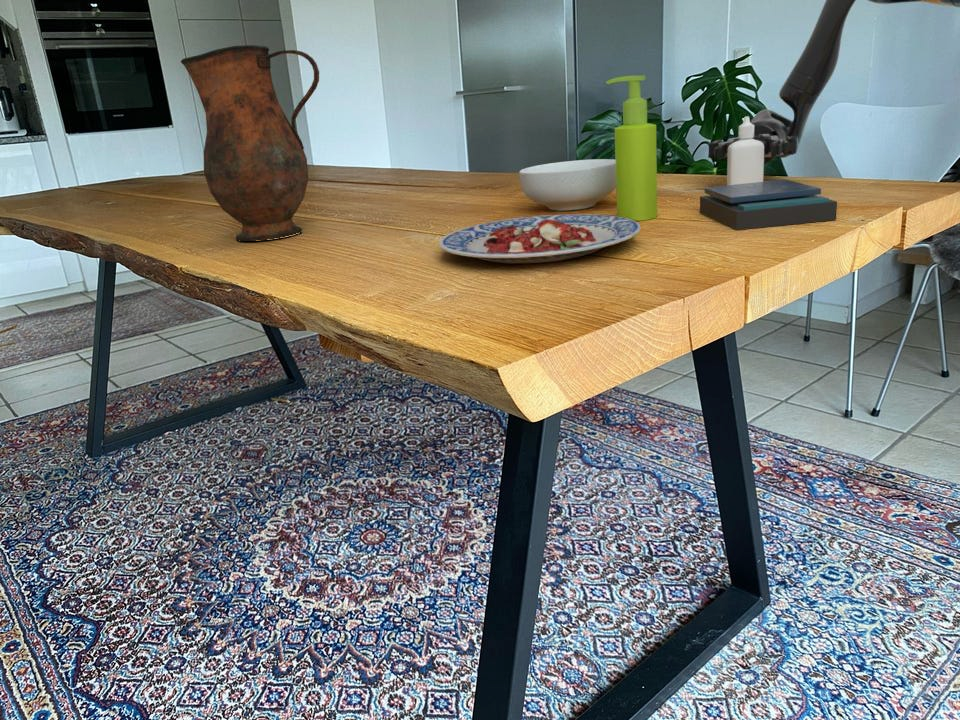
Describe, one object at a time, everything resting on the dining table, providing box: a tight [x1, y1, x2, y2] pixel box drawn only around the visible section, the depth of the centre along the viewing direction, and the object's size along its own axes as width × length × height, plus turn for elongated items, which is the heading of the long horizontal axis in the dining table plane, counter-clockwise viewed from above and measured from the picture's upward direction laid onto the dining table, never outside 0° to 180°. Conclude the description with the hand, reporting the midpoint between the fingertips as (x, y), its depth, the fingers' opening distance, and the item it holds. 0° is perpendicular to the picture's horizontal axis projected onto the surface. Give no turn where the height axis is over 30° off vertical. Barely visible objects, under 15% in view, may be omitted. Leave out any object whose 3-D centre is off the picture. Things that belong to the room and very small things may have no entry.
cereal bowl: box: [518, 158, 616, 212], centre depth 124 cm, size 17×17×7 cm
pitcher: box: [180, 44, 320, 242], centre depth 122 cm, size 17×21×30 cm
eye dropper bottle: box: [726, 116, 765, 185], centre depth 122 cm, size 4×6×12 cm
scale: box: [699, 195, 838, 231], centre depth 102 cm, size 13×15×3 cm
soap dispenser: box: [605, 75, 658, 222], centre depth 107 cm, size 6×7×20 cm
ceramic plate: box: [438, 213, 641, 264], centre depth 95 cm, size 26×26×3 cm
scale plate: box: [704, 179, 822, 203], centre depth 102 cm, size 12×11×1 cm
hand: (745, 151), depth 121 cm, fingers open, 8 cm apart
